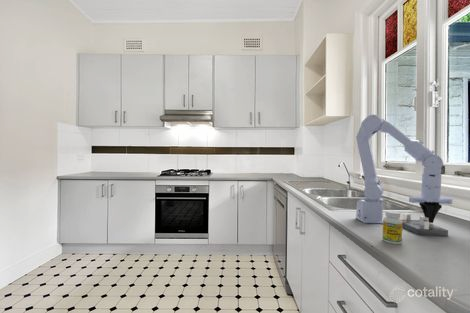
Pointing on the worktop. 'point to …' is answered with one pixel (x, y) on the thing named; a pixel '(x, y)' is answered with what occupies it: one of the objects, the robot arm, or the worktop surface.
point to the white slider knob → (424, 218)
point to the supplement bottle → (392, 228)
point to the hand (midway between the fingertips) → (429, 222)
